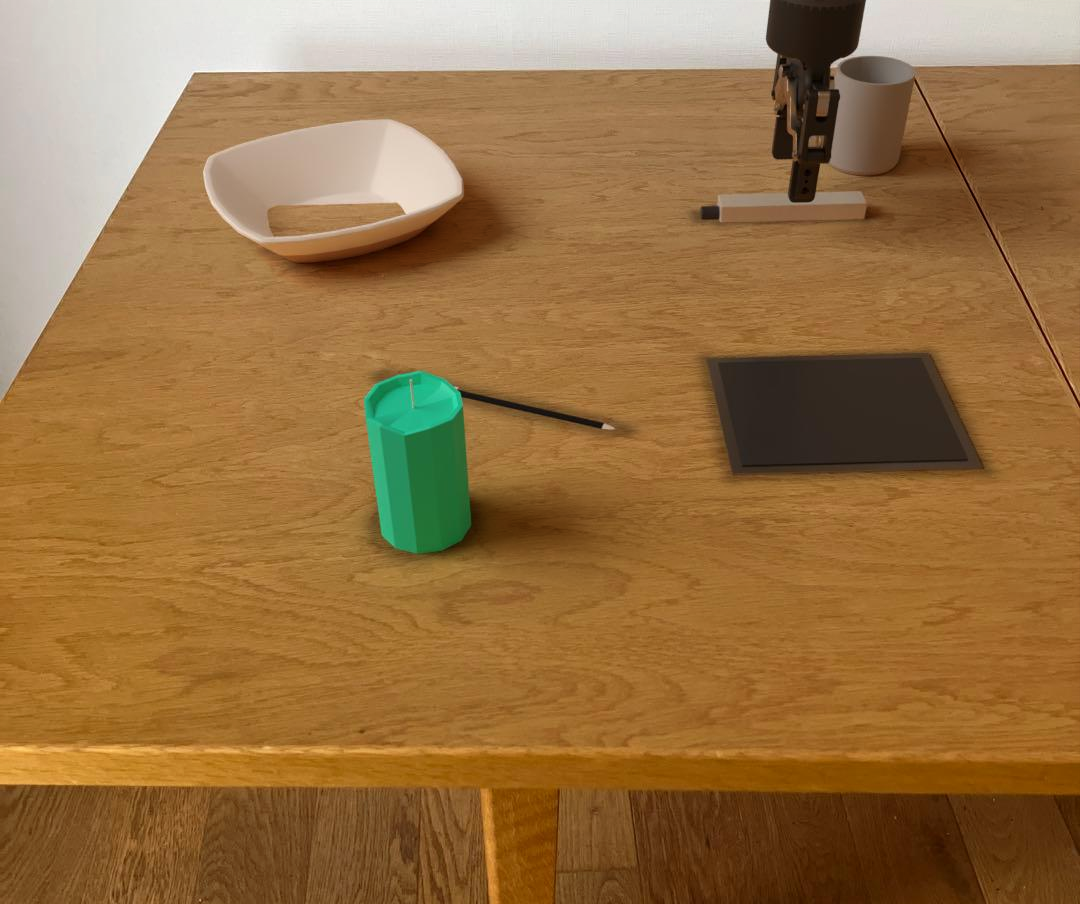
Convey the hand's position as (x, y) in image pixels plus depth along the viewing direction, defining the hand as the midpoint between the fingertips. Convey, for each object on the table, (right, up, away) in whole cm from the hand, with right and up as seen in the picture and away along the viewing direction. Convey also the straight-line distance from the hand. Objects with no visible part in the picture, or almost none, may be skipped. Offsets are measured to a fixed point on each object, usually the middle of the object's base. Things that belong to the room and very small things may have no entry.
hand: (791, 178), depth 106 cm
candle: (-30, -32, -28) cm, 52 cm away
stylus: (0, -3, +3) cm, 4 cm away
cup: (+8, +6, +13) cm, 16 cm away
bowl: (-41, -4, +3) cm, 41 cm away
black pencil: (-25, -23, -18) cm, 38 cm away
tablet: (-1, -23, -19) cm, 31 cm away
